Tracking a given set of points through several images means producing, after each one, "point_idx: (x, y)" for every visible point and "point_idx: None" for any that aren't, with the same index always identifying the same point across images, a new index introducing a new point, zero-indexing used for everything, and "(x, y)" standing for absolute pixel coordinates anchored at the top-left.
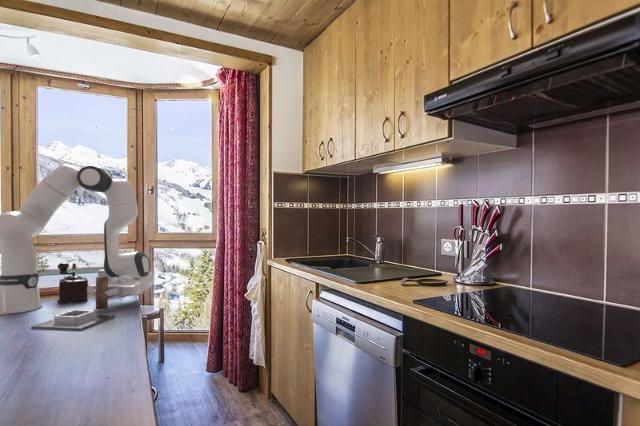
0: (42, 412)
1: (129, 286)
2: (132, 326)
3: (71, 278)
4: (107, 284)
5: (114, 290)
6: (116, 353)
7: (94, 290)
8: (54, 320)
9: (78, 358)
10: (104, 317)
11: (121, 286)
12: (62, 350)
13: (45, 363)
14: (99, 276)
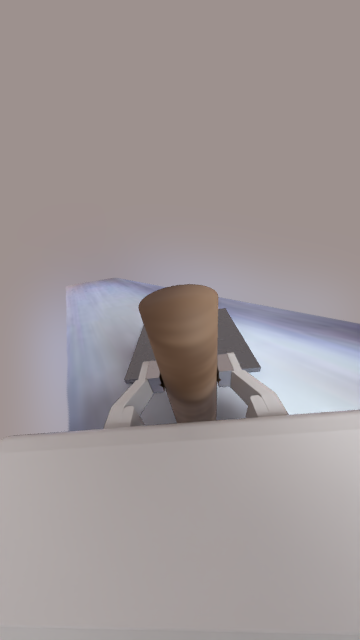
0: (105, 280)
1: (9, 440)
2: (76, 346)
3: None
4: (152, 349)
5: (128, 395)
6: (86, 303)
7: (222, 353)
8: (226, 328)
9: (112, 295)
10: (141, 359)
11: (79, 433)
12: (131, 297)
13: (130, 289)
14: (213, 299)
